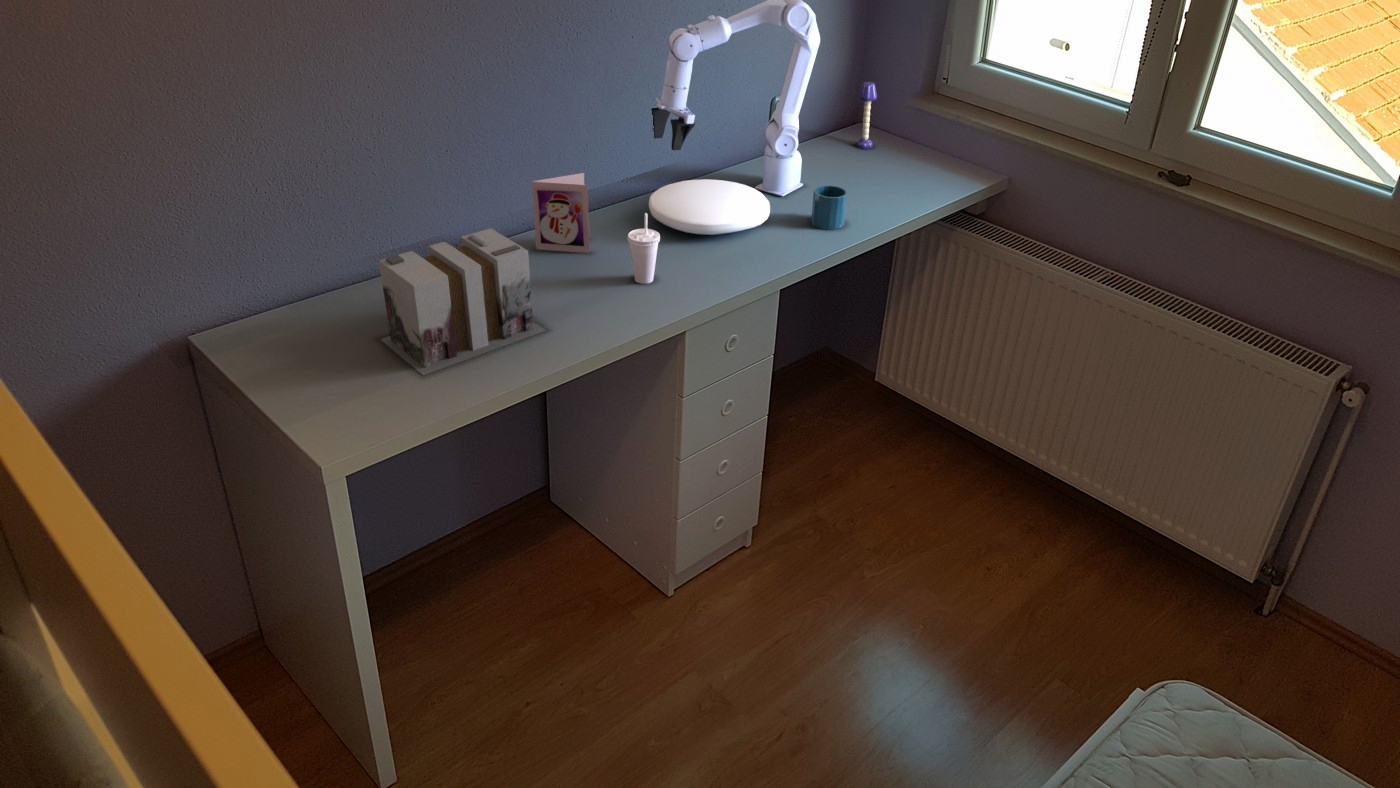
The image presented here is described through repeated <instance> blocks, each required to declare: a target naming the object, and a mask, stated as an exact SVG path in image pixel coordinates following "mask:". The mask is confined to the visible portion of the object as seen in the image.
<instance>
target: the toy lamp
mask: <svg viewBox="0 0 1400 788" xmlns="http://www.w3.org/2000/svg"><path fill="white" fill-rule="evenodd" d="M876 87H877V86H876V84H875V82H873V81H865V82H863V84H862V86H861V89H860V92H859V95H858V99H859V100H860V101H863V103H864V105H863V118H862V122H863V123H862V131H861V132H862V135H861V138H859V140H858V141H857V142H856V146H855V147H857V148H859V149H863V150H864V149H865V150H869V149H872V148H873V146H874V145H873V142H872V140H871V139H869V138H870V137H869V133H870V121H871V117H870V116H871V108H872V105H871V104H872V102H874V101H877V99H878V93H877V88H876Z"/></svg>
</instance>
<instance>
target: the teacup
mask: <svg viewBox="0 0 1400 788" xmlns="http://www.w3.org/2000/svg"><path fill="white" fill-rule="evenodd" d="M847 199H848V190H846V189H845V188H844V187H842V186H837V185H831V184H830V185H825V184H824V185H820V186H817V187H815V188H814V190H813V195H812V210H811V219H810V220H811V221H810V222H811V225H812V226H814V227H816V228H818V229H821V230H826V231H827V230H828V231H833V230H839V229H841V228H843V227H844V225H845V221H846V213H847V212H846V211H847V201H848V200H847Z"/></svg>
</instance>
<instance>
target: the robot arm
mask: <svg viewBox="0 0 1400 788" xmlns="http://www.w3.org/2000/svg"><path fill="white" fill-rule="evenodd" d="M816 17H817V16H816V13H815V12H814V11H813V9H812V8H811V7H810V5H809V4H807V3H806V2H805V1H803V0H765V1H763V2H760V3H758V4H756V5H754V6H752V7H749V8H747V9H744V10H743V11H741V12H738V13H736V14H734V15H732V16H730V17H727V18H725V17H723V16H720V15H716V16H714V15H713V14H711V15H708V16H707V20H703V21H701V22H699V23H696V24H694V25H693V24H691V23H690V24H688V25H687V28H683V27H679V28H677V29H674V30H673V31H672V33H671V34H670V35H669V38H667V45H668V47H669V49H670V50H669V53H668V58H667V62H666V67H665V68H666V69H665V72H664V73H665V74H664V80H663V85H662V93H661V95H662V97H661V98H656V102H657V103H658V104H657V108H652V109H651V110H652V115H653V126H654V128H653V127H652V132H653V131H654V137H653V139H663V137H664V134H665V130H666V127H667V123H668V119H669V117H670V115H671V114H672V115H673V116H675V117H677V118H675V119H672V118H671V119H670V124H671V151H681V149H682V147H683V145H684V143H685V140H686V138H687V137H688V135H689V134H690V132H691V131H692V130H693V129H694V128H695V126H696V122H695V117H696V115H695V114H694V113H693V112H692V111H691V110H690V109H689V108H688V106H687V102H688V96H689V90H690V84H691V78H692V73H693V63H694V59H695V58H696V57H697V56H698V55H699V53H700V52H701V53H702V52H705V51H707V50H709V49H711V48H714V47H716V46H717V47H718V46H719V45H722V44H724V43H727V42H728V41H729V40H730V37H731V35H733V34H735V33H738V32H741V31H744V30H746V29H750V28H753V27H756V26H759V25H762V24H765V23H767V24H771V25H774V26H778V27H782V23H783V24H784V25H785V27H786V28H787V29H788V30H789V32H790V33H791V35H792V36H793V38H794V39H795V44H794V47H793V51H792V55H791V58H790V62H789V64H788V69H787V73H786V77H785V78H784V79H785V80H784V83H783V87H782V91H781V94H780V98H779V101H778V104H777V108H776V109H775V110H774V111H773V112H772V115H771V117H770V119H769V121H768V122H767V123H766V124H765V126H764V128H763V138H764V140H765V141H766V143H767V144H766V146H765V148H764V154H763V170H762V171H763V173H762V182H761V183H760V184H758V185H756V186H754V189H756V190H757V191H760V192H766V193H769V194H772V195H775V196H779V197H785V196H787V195H788V194H790V193H792V192H794V191H796V190H797V189H799V188H801V187H803V186H804V183H802V182H801V177H802V164H803V160H802V156H801V153H800V152H799V150H797V149H798V147H799V137H798V135H799V130H800V124H799V123H800V122H799V121H800V120H799V115H800V112H801V108H802V105H803V101H804V98H805V95H806V91H807V88H808V84H809V81H810V79H811V75H812V71H813V68H814V64H815V61H816V57H817V54H818V50H819V48H820V44H821V36H820V35H821V34H820V32H819V27H818V23H817V18H816ZM653 129H654V130H653Z"/></svg>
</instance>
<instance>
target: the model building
mask: <svg viewBox="0 0 1400 788" xmlns="http://www.w3.org/2000/svg"><path fill="white" fill-rule="evenodd" d="M428 252H429V255H428V256H423V257H422V256H421V255H419V254H418V253H416V252H415V251H413V250H411V251H410V250H409V251H407V252H402V253H399V254H396V255H391V256H388V257H385V258H382V259H379V260H378V264H379V265H378V267H379V271H380V278H381V285H382V290H383V291H382V292H383V298H384V304H385V310H386V318H387V322H388V323H387V324H388V330H389V336H386V337H383V338H380V339H379V340H380V341H382V342H383V344H385V345H386V346H387V347H389V349H391V350H392V351H393V352H394V353H396V354H397V355H398V356H399V357H401V358H402V359H403V360H404V361H405V362H406V363H407V364H409V365H410V366H411V367H412V368H414V369H415V370H416V371H417V372H418V373H419V374H420V375H422V376H425V375H428V374H431V373H434V372H437V371H439V370H442V369H445V368H448V367H451V366H453V365H456V364H458V363H461V362H464V361H466V360H470V359H472V358H475V357H478V356H481V355H483V354H486V353H489V352H492V351H494V350H497V349H500V348H502V347H505V346H508V345H511V344H514V343H516V342H519V341H522V340H524V339H527V338H531V337H533V336H535V335H538V334H542V333H544V332H546V331H547V330H546V329H544V328H543V327H542V326H540V325H539V324H537V323H536V322H535V321H534V317H533V316H534V315H533V302H532V301H533V300H532V288H531V287H532V286H531V273H530V260H529V250H528V249H525V248H524V247H523V246H521V245H519V244H518V243H517V242H514V241H513V240H511V239H510V238H508V237H507V236H505V235H503V234H502V233H499V232H498V231H496V230H495V229H493V228H492V227H490V228H486V229H483V230H480V231H476V232H473V233H470V234H466V235H462V236H460V246H457V247H454V246H452V245H450V244H449V243H448V242H446V241H441V242H438V243H434V244H431V245H429V246H428Z"/></svg>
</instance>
